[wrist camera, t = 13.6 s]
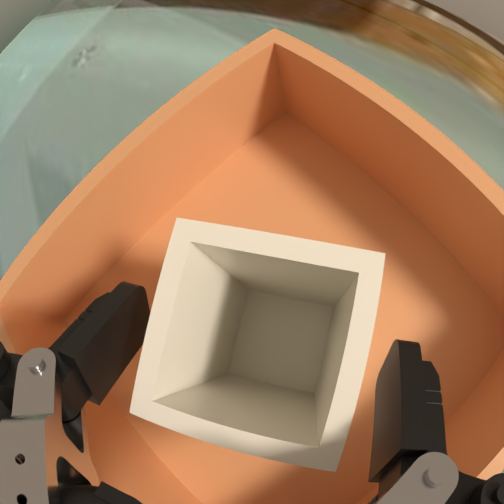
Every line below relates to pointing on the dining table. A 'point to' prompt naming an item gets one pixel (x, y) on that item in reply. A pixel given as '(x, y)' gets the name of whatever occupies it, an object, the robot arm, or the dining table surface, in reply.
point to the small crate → (259, 341)
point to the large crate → (291, 224)
